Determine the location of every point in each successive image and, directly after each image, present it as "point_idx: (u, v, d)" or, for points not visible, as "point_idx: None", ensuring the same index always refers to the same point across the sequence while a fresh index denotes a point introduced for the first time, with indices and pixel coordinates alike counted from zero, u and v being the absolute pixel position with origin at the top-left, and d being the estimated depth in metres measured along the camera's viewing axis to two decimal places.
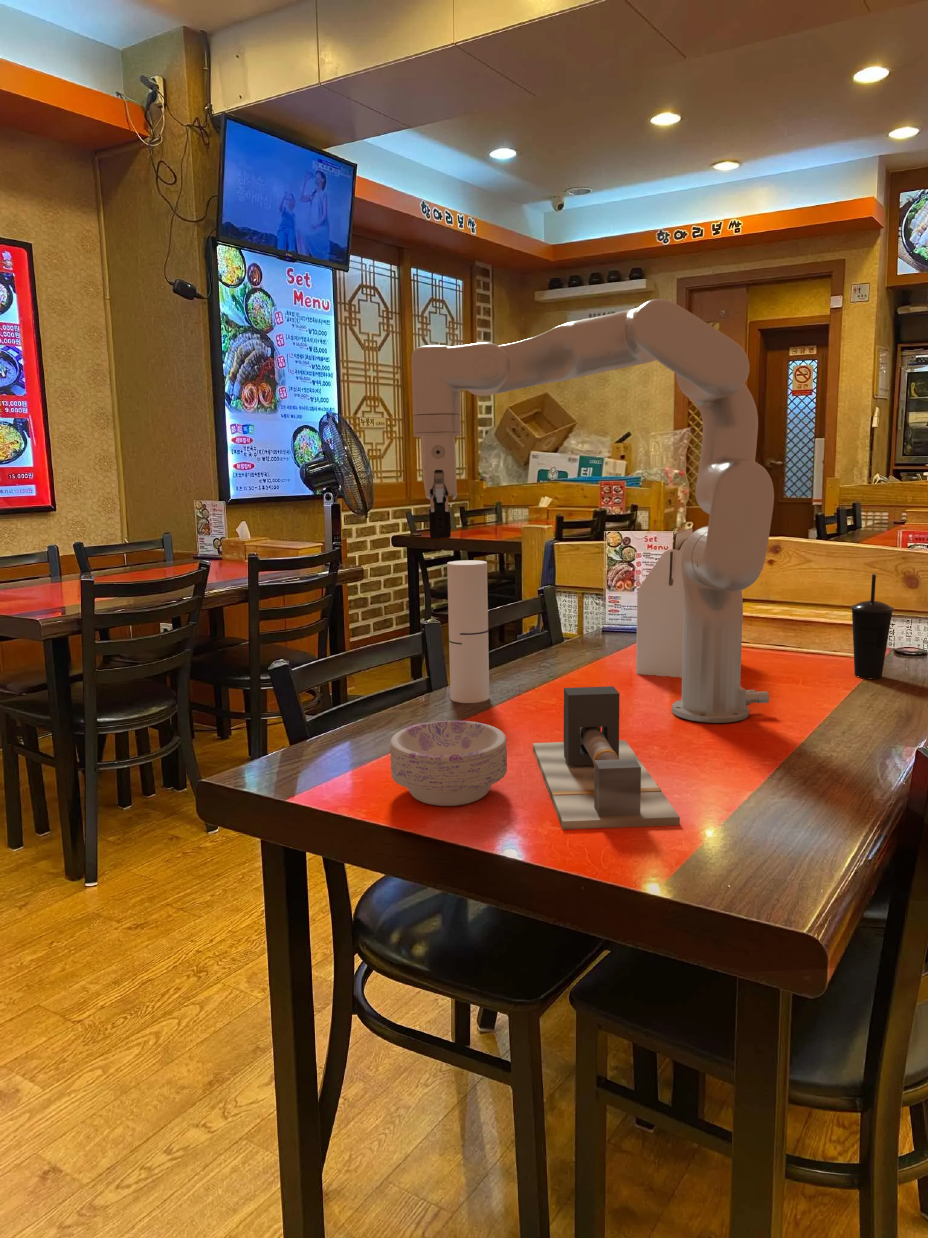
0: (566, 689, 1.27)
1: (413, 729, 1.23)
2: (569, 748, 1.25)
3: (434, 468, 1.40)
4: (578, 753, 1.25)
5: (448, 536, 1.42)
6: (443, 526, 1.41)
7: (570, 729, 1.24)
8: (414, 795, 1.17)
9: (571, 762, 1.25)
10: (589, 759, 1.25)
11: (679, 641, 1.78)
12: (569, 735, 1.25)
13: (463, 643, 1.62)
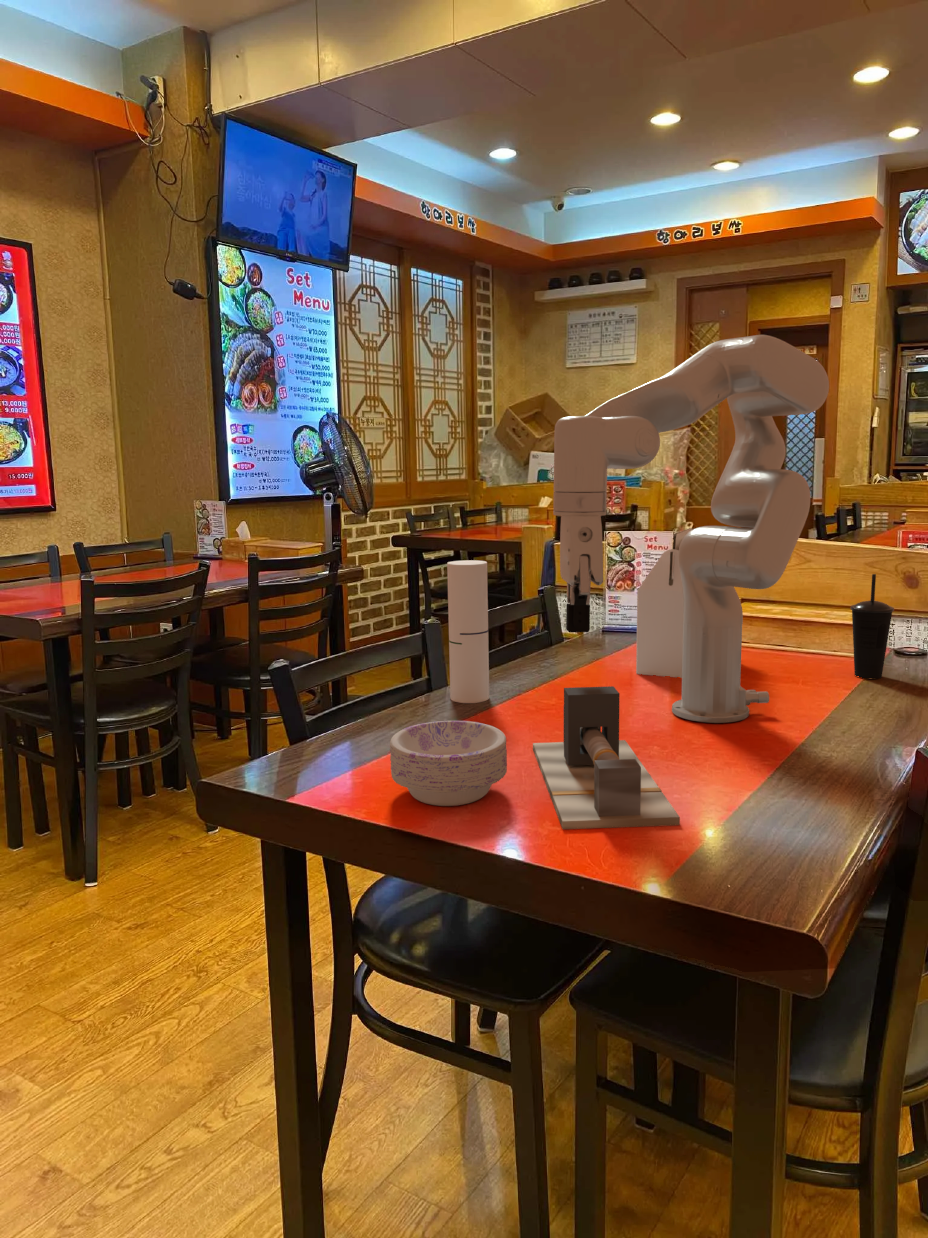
0: (566, 689, 1.27)
1: (412, 729, 1.23)
2: (569, 748, 1.25)
3: (580, 552, 1.26)
4: (578, 753, 1.25)
5: (587, 630, 1.32)
6: (583, 620, 1.31)
7: (570, 729, 1.24)
8: (414, 795, 1.17)
9: (571, 762, 1.25)
10: (589, 759, 1.25)
11: (679, 641, 1.78)
12: (569, 735, 1.25)
13: (463, 643, 1.62)
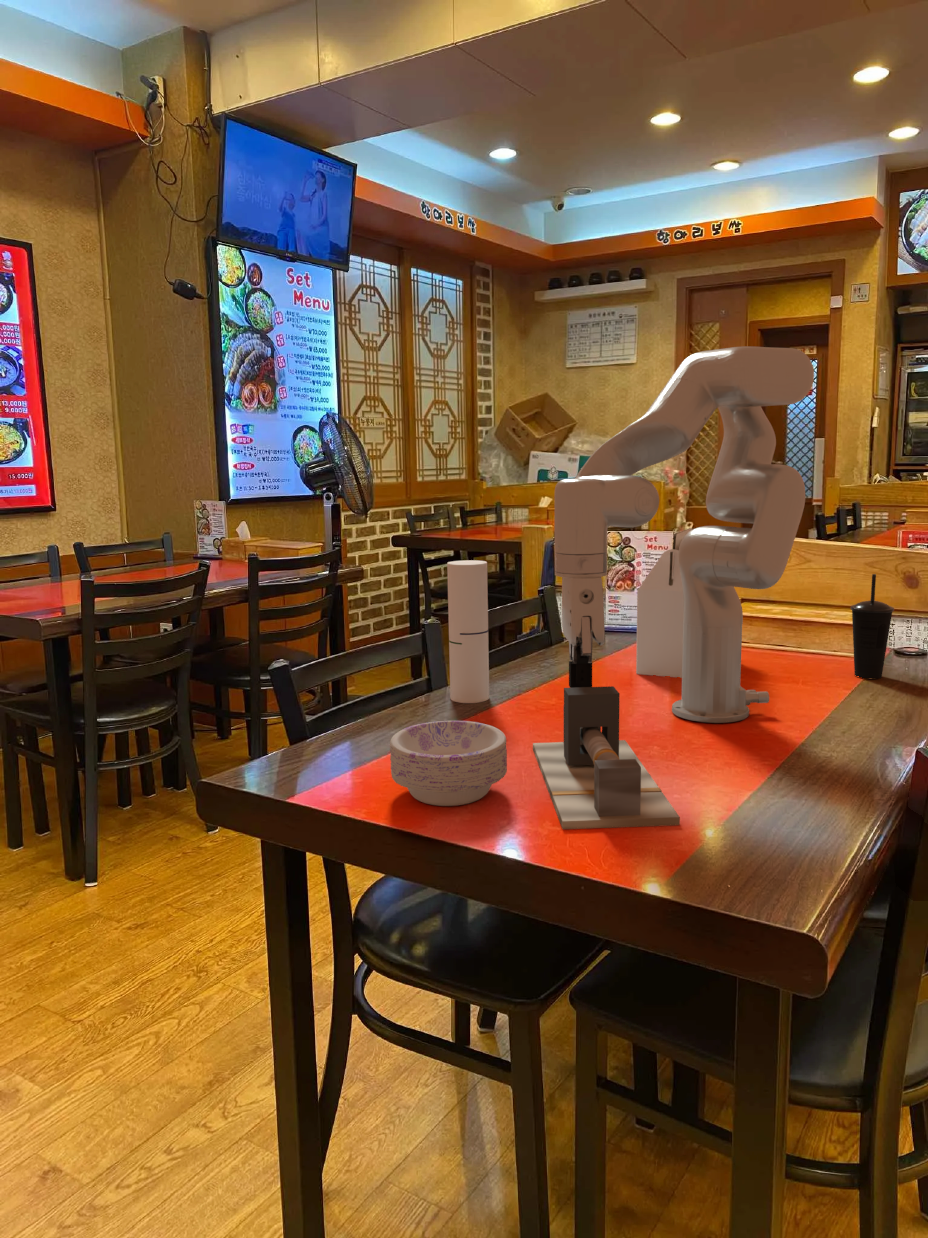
0: (566, 689, 1.27)
1: (413, 729, 1.23)
2: (569, 748, 1.25)
3: (582, 614, 1.27)
4: (578, 753, 1.25)
5: None
6: (585, 678, 1.33)
7: (570, 729, 1.24)
8: (414, 795, 1.17)
9: (571, 762, 1.25)
10: (589, 759, 1.25)
11: (679, 641, 1.78)
12: (569, 735, 1.25)
13: (463, 643, 1.62)
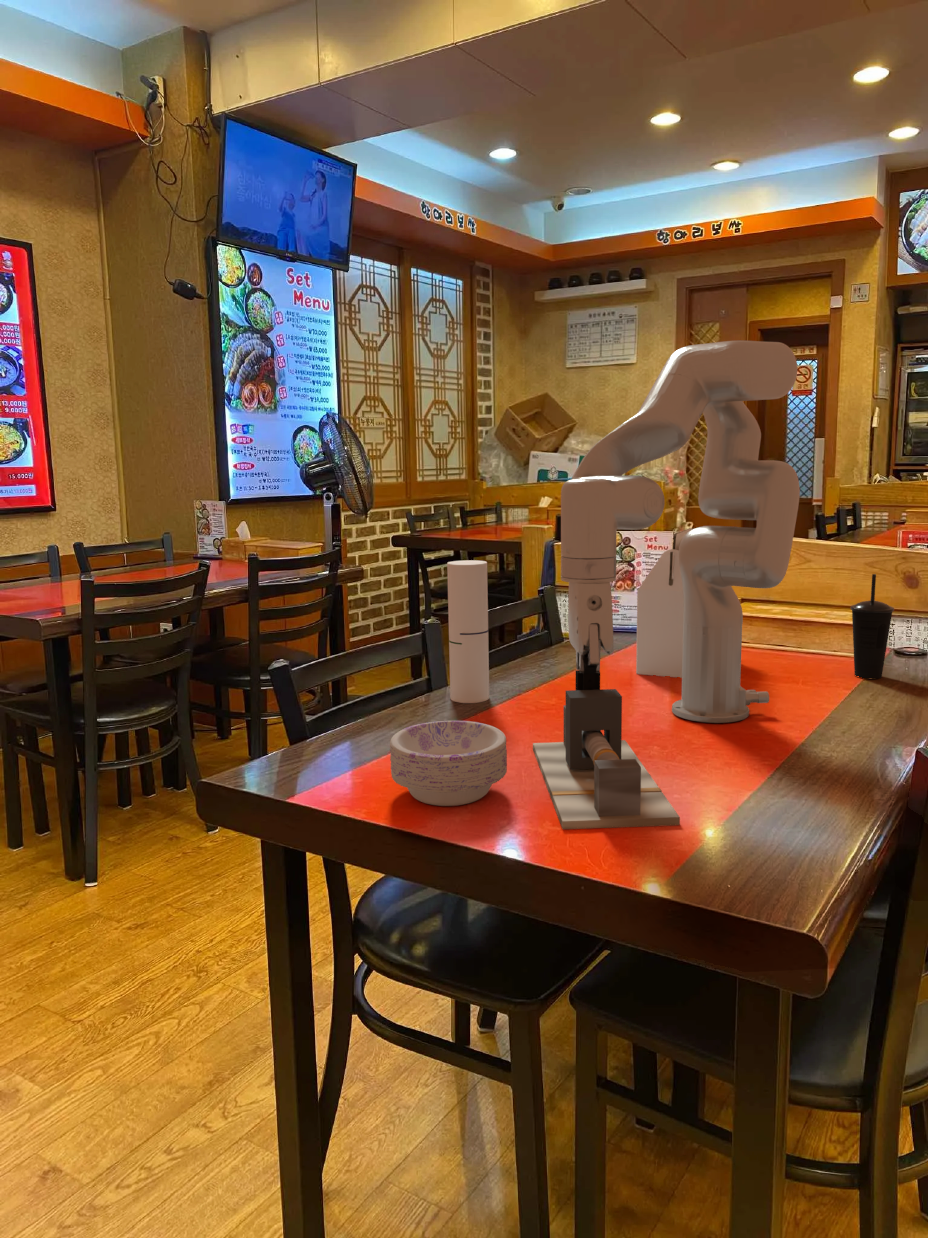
0: (568, 692, 1.25)
1: (412, 729, 1.23)
2: (571, 752, 1.23)
3: (589, 621, 1.21)
4: (580, 757, 1.23)
5: None
6: (593, 688, 1.26)
7: (572, 733, 1.23)
8: (414, 795, 1.17)
9: (573, 766, 1.24)
10: (591, 763, 1.24)
11: (679, 641, 1.78)
12: (571, 738, 1.23)
13: (463, 643, 1.62)
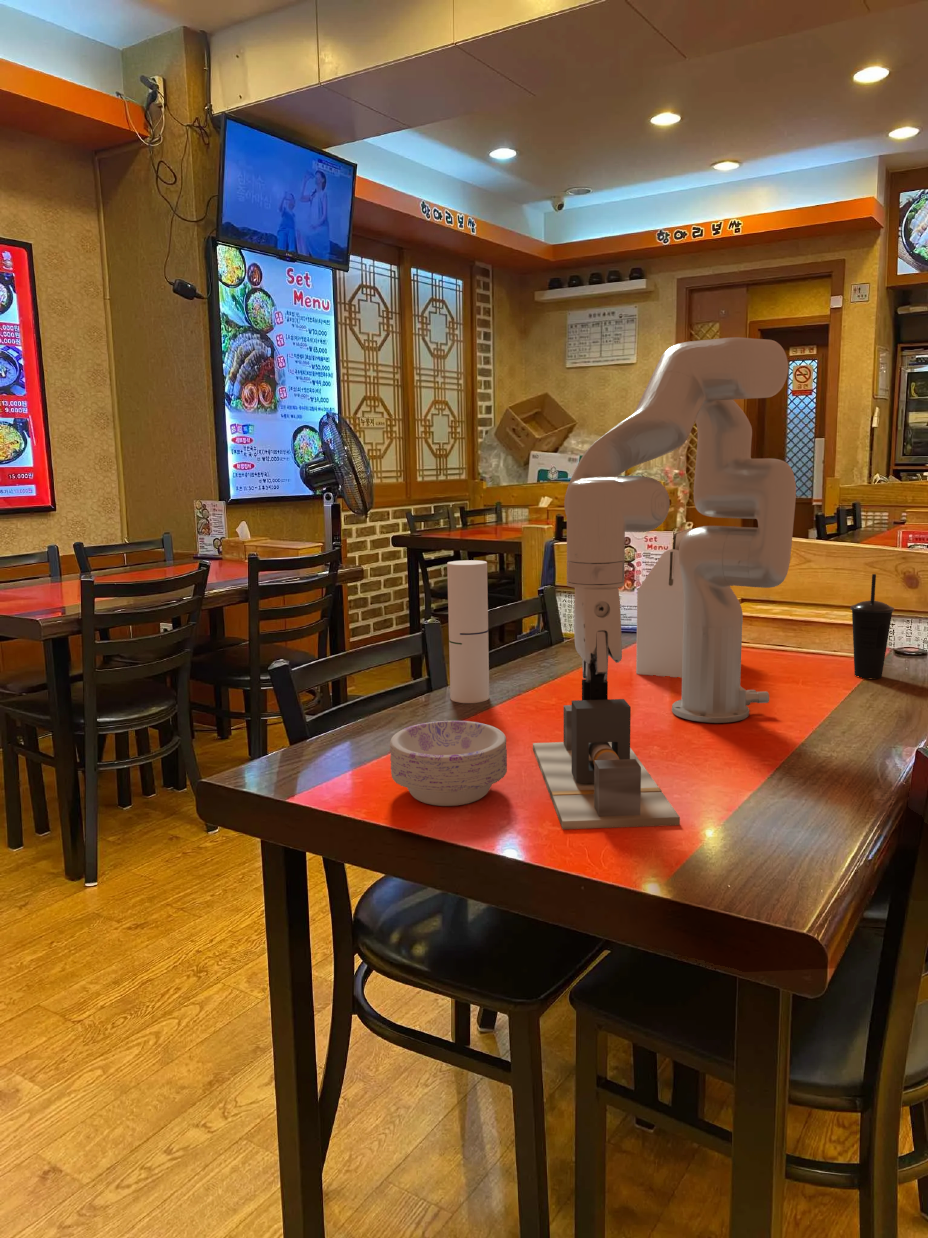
0: (574, 702, 1.20)
1: (413, 729, 1.23)
2: (577, 764, 1.18)
3: (597, 629, 1.16)
4: (587, 770, 1.18)
5: None
6: (600, 698, 1.21)
7: (578, 745, 1.18)
8: (414, 795, 1.17)
9: (579, 779, 1.18)
10: None
11: (679, 641, 1.78)
12: (577, 751, 1.18)
13: (463, 643, 1.62)
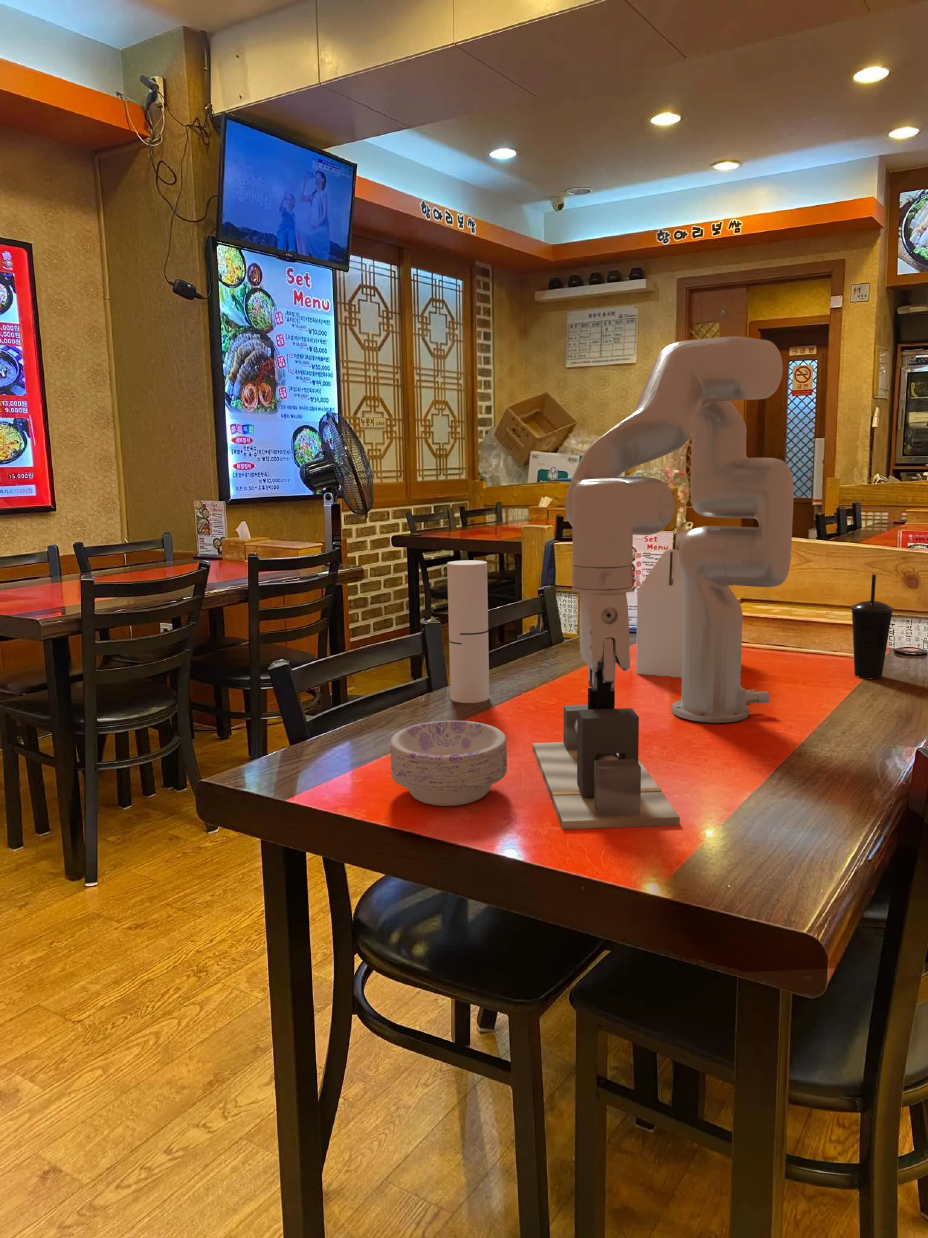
0: (580, 711, 1.15)
1: (413, 729, 1.23)
2: (583, 777, 1.14)
3: (604, 636, 1.12)
4: (593, 782, 1.14)
5: None
6: (607, 708, 1.17)
7: (585, 756, 1.13)
8: (414, 795, 1.17)
9: (585, 792, 1.14)
10: None
11: (679, 641, 1.78)
12: (583, 762, 1.13)
13: (463, 643, 1.62)
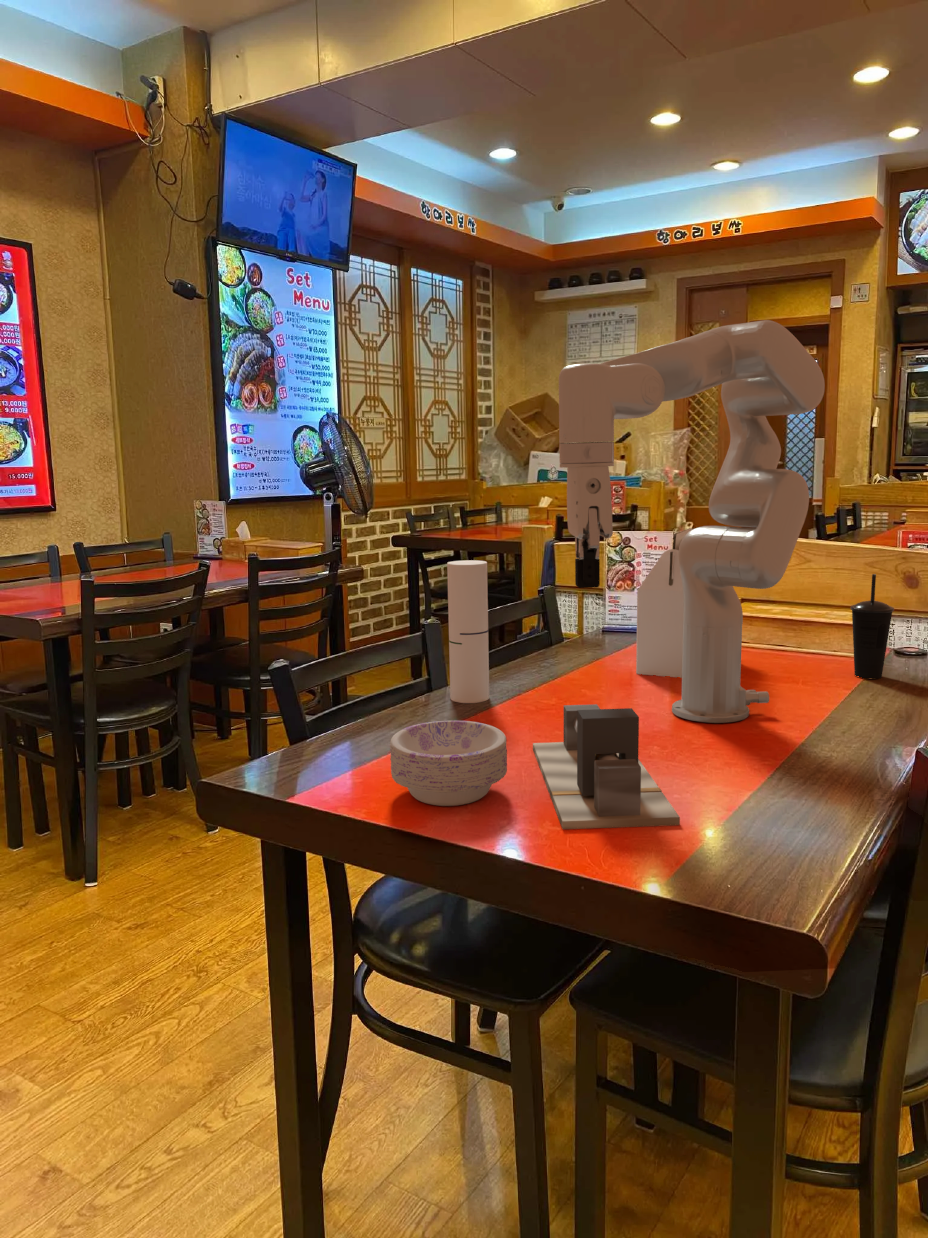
0: (580, 711, 1.15)
1: (413, 729, 1.23)
2: (583, 777, 1.14)
3: (589, 504, 1.23)
4: (593, 782, 1.14)
5: (597, 585, 1.29)
6: (592, 575, 1.28)
7: (585, 756, 1.13)
8: (414, 795, 1.17)
9: (585, 792, 1.14)
10: None
11: (679, 641, 1.78)
12: (583, 762, 1.13)
13: (463, 643, 1.62)
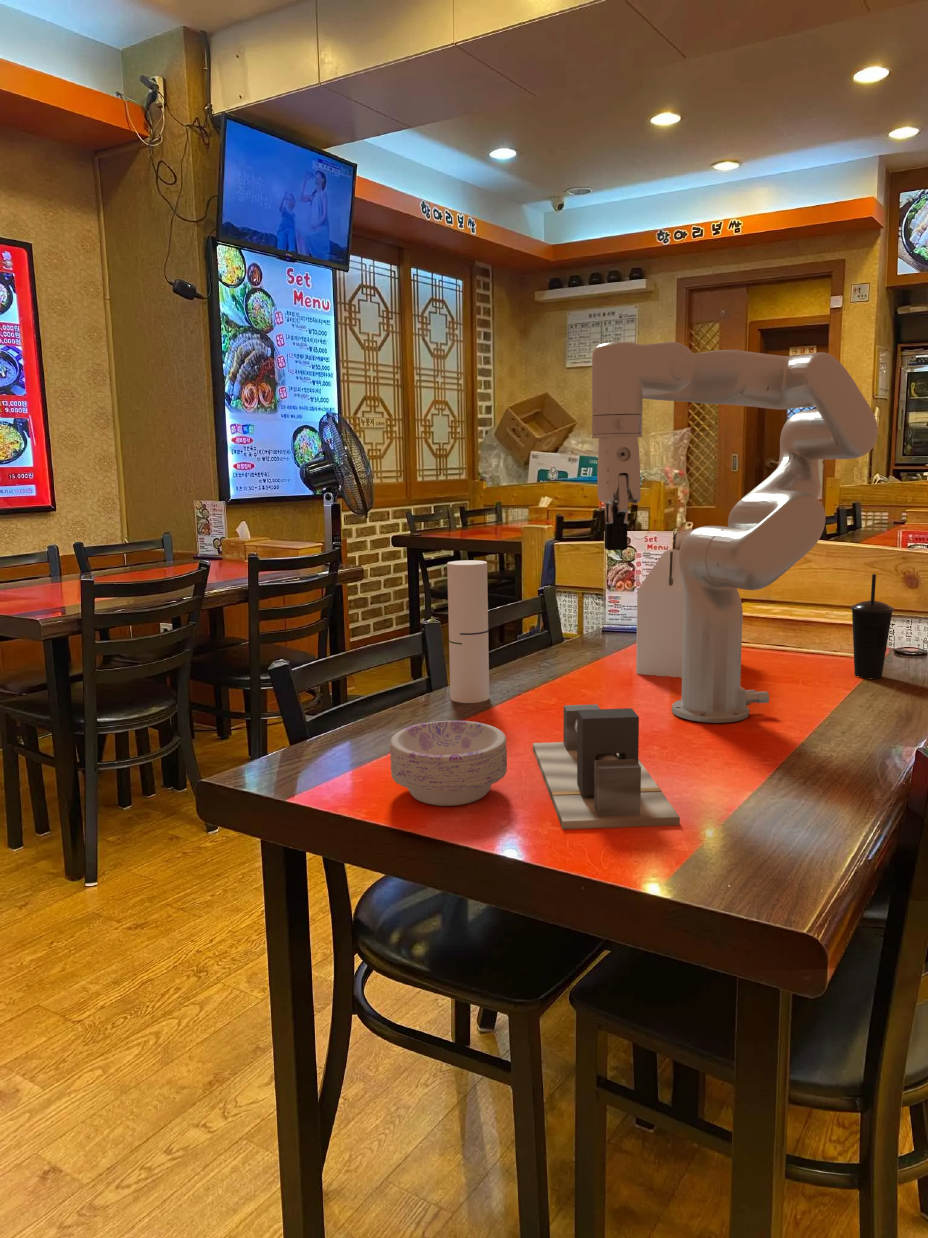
0: (580, 711, 1.15)
1: (413, 729, 1.23)
2: (583, 777, 1.14)
3: (619, 471, 1.33)
4: (593, 782, 1.14)
5: (625, 548, 1.40)
6: (621, 538, 1.39)
7: (585, 756, 1.13)
8: (414, 795, 1.17)
9: (585, 792, 1.14)
10: None
11: (679, 641, 1.78)
12: (583, 762, 1.13)
13: (463, 643, 1.62)
